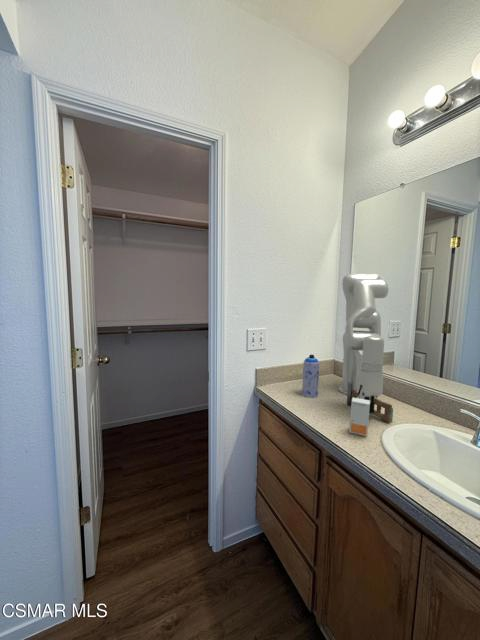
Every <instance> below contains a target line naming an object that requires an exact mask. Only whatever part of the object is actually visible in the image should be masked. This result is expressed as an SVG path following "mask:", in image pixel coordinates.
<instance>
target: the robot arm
mask: <svg viewBox="0 0 480 640" xmlns="http://www.w3.org/2000/svg"><path fill="white" fill-rule="evenodd" d="M341 285H342V287H341V288H342V291H343V295H344V297H345V302H346V304H345V319H346V320H345V322H346V324H345V332H344V333H343V334H342V345H343V347H342V348H343V361H342V377H341V378H342V381H341V385H339V386H338V391H339V392H340V393H342V394H345V395H347V391H348V383H354V387H353V390H356V391H357V393H358V394H360V395H359V397H358V398H360V399H364V400H370V409H369V414H370V413H374V410H375V405H374V403H375V402H376V399H378V398H379V397H381V394H383V392H384V391H383V390H384V373H383V372H384V371H383V368H384V353H385V352H384V350H385V339H384V337H382V333H381V332H382V327H381V326H382V324H381V323H382V321H381V314H380V312H379V311H378V310H377V307H376V300H375V299H385V298H387V296H388V295H389V283H388V282H387V280H386V279H385V278H384V277H383V276H382V275H381V274H379V273H348V274H346V275H344V277H343V279H342V283H341ZM354 329H368V330H354ZM360 351H361V352H362V354H361V352H360Z"/></svg>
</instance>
